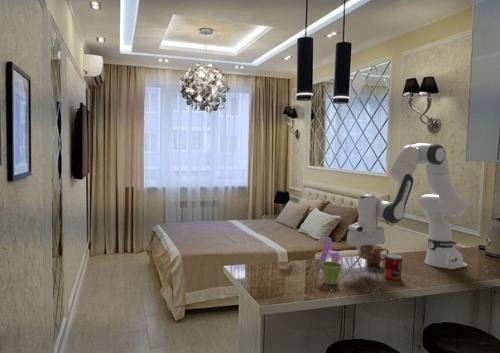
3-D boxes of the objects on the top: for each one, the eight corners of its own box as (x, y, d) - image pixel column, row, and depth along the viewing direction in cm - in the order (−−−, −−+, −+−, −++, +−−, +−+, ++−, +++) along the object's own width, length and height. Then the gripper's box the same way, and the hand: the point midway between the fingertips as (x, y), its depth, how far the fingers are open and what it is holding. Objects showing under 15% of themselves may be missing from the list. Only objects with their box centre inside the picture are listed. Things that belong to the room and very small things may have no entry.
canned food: (393, 281, 185) (394, 258, 185) (380, 276, 192) (381, 254, 192) (404, 279, 189) (405, 256, 188) (391, 274, 196) (392, 253, 195)
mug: (366, 267, 207) (367, 248, 207) (363, 263, 216) (364, 244, 215) (389, 268, 206) (390, 249, 206) (385, 264, 215) (386, 245, 214)
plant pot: (337, 287, 174) (337, 268, 173) (317, 283, 179) (317, 264, 178) (343, 282, 182) (344, 263, 181) (324, 278, 187) (325, 260, 186)
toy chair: (330, 268, 204) (331, 239, 203) (317, 264, 211) (318, 237, 210) (340, 265, 210) (341, 238, 209) (327, 261, 216) (328, 235, 215)
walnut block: (367, 255, 199) (367, 244, 199) (372, 258, 194) (373, 246, 194) (358, 256, 198) (358, 245, 197) (364, 259, 193) (364, 247, 192)
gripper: (380, 224, 201) (379, 250, 202) (345, 226, 195) (344, 253, 196) (388, 226, 195) (387, 253, 196) (352, 228, 189) (351, 256, 190)
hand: (365, 253), depth 196 cm, fingers closed on walnut block, 5 cm apart
